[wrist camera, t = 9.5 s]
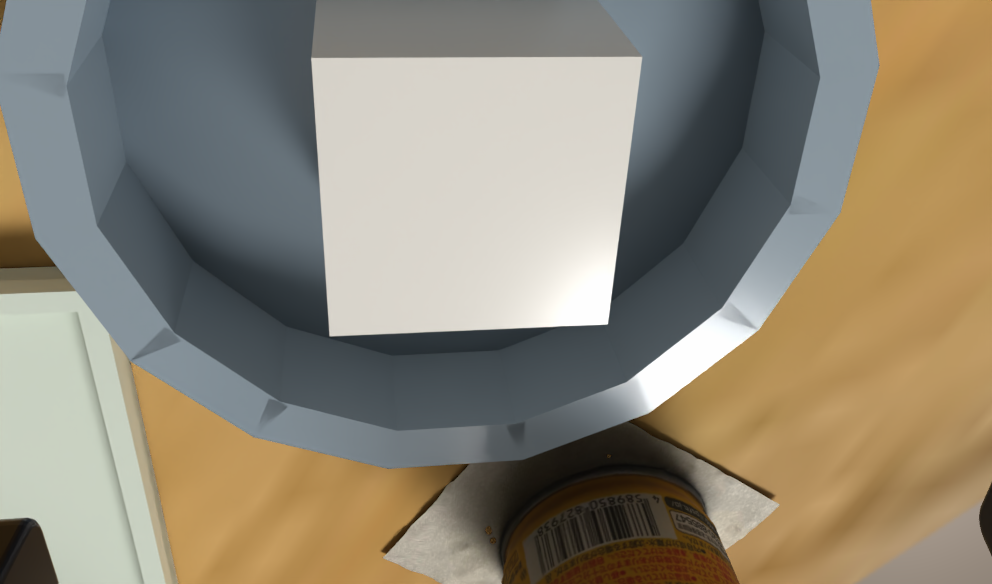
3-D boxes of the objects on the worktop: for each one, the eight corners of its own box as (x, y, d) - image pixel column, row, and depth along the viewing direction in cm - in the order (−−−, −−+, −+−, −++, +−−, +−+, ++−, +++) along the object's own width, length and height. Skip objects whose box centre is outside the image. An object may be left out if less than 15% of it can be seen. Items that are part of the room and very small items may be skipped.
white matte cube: (556, 198, 19) (608, 324, 15) (332, 204, 19) (329, 336, 15) (575, -28, 17) (642, 56, 13) (319, -30, 16) (311, 58, 12)
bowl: (724, 347, 23) (779, 443, 20) (133, 377, 21) (100, 487, 18) (867, -335, 16) (986, -338, 13) (-30, -379, 14) (-132, -395, 11)
